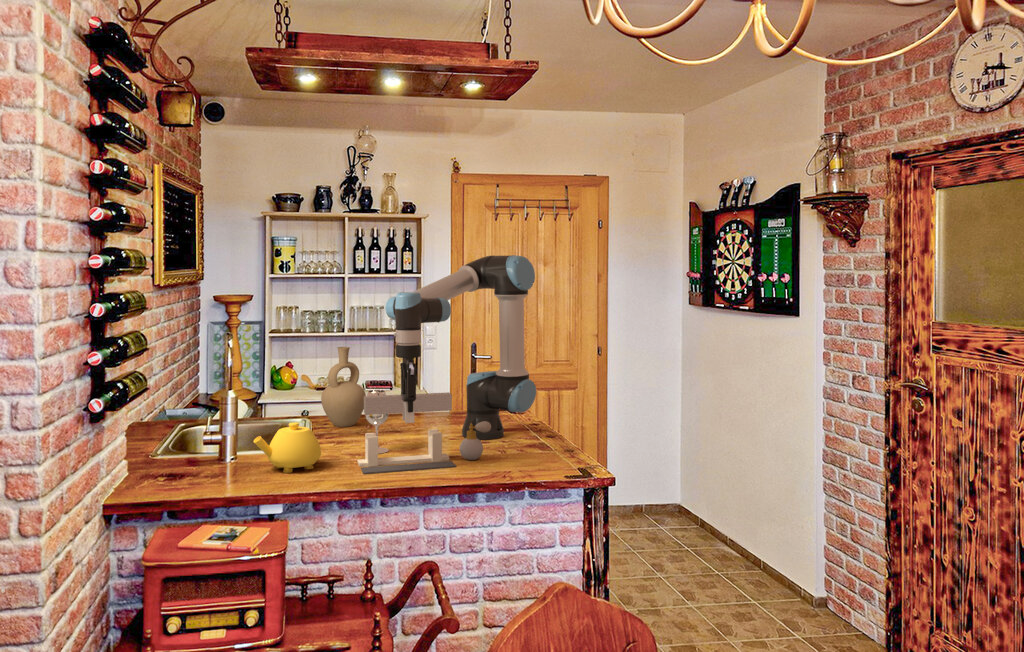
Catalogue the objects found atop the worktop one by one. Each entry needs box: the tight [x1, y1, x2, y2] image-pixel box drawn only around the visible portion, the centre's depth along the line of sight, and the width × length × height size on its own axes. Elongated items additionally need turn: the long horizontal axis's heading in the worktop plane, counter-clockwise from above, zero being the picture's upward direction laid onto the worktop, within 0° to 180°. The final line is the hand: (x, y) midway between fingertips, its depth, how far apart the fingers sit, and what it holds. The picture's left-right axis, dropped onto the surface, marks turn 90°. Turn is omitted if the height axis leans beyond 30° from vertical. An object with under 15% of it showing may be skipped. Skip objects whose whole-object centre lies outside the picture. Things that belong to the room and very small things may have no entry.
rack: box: [357, 428, 450, 468], centre depth 245 cm, size 28×6×9 cm, turn 108°
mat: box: [360, 460, 457, 475], centre depth 238 cm, size 28×6×1 cm, turn 108°
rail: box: [363, 391, 453, 416], centre depth 236 cm, size 26×4×5 cm, turn 108°
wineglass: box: [364, 389, 390, 455], centre depth 258 cm, size 8×8×20 cm
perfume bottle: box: [459, 421, 491, 461], centre depth 249 cm, size 8×10×12 cm
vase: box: [320, 346, 367, 428], centre depth 299 cm, size 17×17×30 cm
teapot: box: [253, 421, 322, 474], centre depth 236 cm, size 20×16×14 cm
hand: (408, 421), depth 236 cm, fingers closed on rail, 4 cm apart
